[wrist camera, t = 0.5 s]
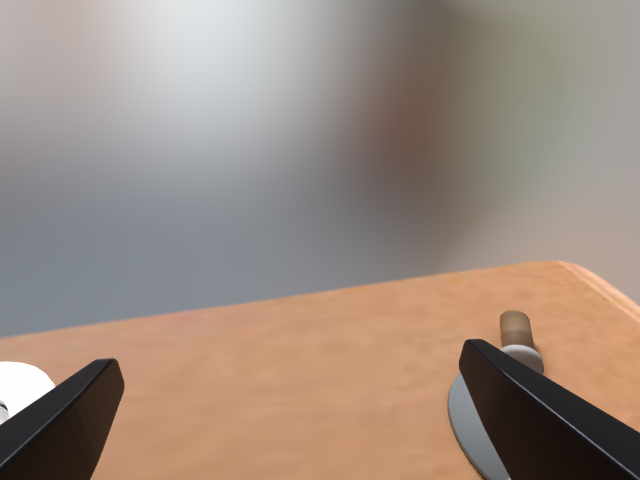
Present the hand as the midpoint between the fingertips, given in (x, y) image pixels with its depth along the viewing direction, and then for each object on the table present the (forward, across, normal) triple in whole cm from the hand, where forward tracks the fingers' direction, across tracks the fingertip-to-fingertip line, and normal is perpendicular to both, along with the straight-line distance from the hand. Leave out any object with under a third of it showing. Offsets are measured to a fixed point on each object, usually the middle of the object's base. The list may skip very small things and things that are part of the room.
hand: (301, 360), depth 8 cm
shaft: (+14, -20, +14) cm, 28 cm away
